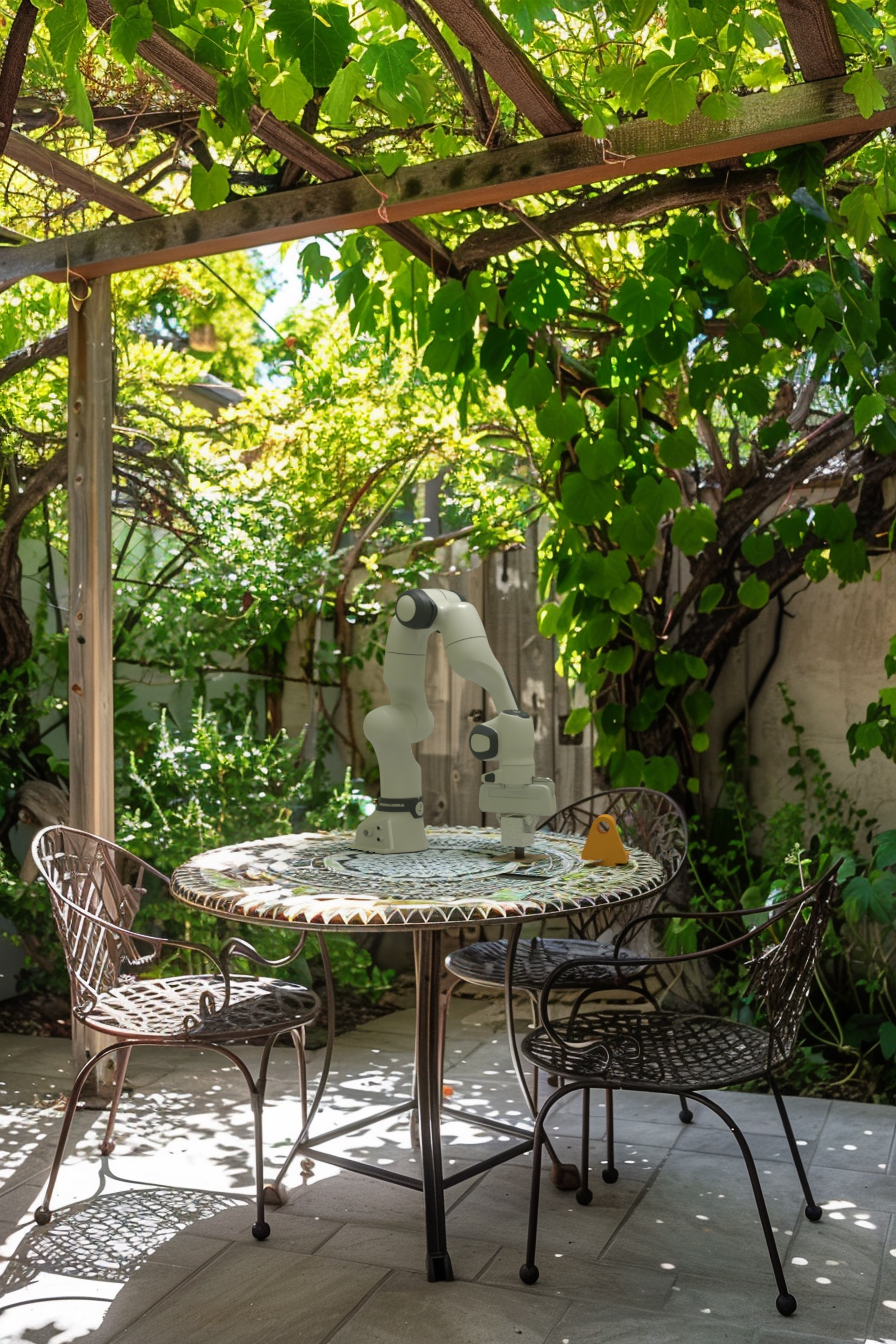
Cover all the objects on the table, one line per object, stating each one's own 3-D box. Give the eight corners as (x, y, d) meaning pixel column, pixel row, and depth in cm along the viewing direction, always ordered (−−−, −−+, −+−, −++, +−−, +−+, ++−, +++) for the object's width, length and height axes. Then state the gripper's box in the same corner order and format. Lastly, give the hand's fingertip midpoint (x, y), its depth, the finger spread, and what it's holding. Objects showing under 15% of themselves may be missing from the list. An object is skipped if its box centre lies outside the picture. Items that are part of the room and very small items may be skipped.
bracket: (629, 861, 305) (628, 813, 305) (625, 866, 298) (624, 817, 298) (586, 860, 308) (585, 812, 308) (581, 865, 301) (580, 816, 301)
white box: (501, 845, 305) (500, 817, 305) (513, 842, 310) (512, 814, 310) (522, 847, 302) (522, 818, 301) (534, 843, 307) (534, 815, 307)
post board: (486, 865, 304) (485, 835, 304) (510, 858, 314) (509, 828, 314) (530, 869, 297) (529, 838, 297) (552, 861, 308) (551, 831, 308)
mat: (496, 877, 287) (496, 875, 287) (520, 869, 298) (520, 866, 298) (542, 881, 281) (542, 878, 281) (565, 872, 291) (565, 870, 291)
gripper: (560, 776, 303) (561, 833, 303) (488, 773, 313) (488, 827, 314) (548, 779, 297) (549, 836, 298) (475, 775, 308) (476, 830, 308)
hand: (517, 832), depth 306 cm, fingers closed on white box, 6 cm apart
